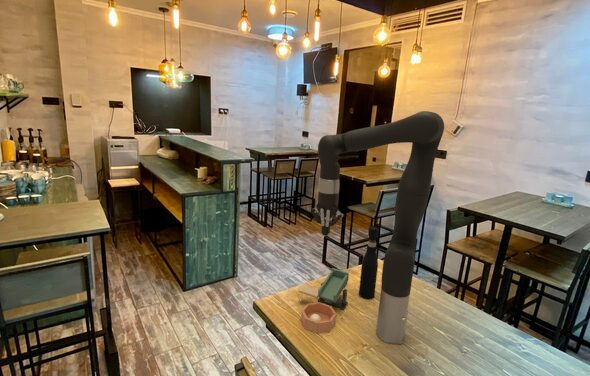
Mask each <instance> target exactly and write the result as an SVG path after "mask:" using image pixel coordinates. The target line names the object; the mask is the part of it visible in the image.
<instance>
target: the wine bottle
mask: <svg viewBox="0 0 590 376" xmlns="http://www.w3.org/2000/svg"><path fill="white" fill-rule="evenodd" d="M379 230H380V229H379V227H377V226H373V225H372V226H369V227H368V234H367V236H368V237H369V240H368V241H367V245H366V251H365V253H364V255H363V259H362V261H361V268H360V270H361V271H360V278H359V287H358V295H359V297H360V298H362V299H364V300H372V299H375V293H376V285H377V277H378V267H379V262H378V256H377V248H378V247H377V238H378V237H379Z"/></svg>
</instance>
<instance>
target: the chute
mask: <svg viewBox="0 0 590 376" xmlns="http://www.w3.org/2000/svg"><path fill="white" fill-rule="evenodd" d="M349 274H350V272H349V271H348V272H347V271H345V270H341V269H338V268H333V267H332V268H331V271H330V272H329V274H328V275H327V277H326V278H325V280H323V282H322V283H323V284H322V283H321V284H322V285H321V284H320V287H319V288H316V287H313V286H310V285H307V284H304V283H303V284H302V285H301V287H300V288H299V289H298V293H300V294H303V295H306V296H307V297H308V296H309V297H311V298H315V299H319V297H320V298H323V299H326V300H329V301H332V302H335V303H336V301H337V299H339V297H340V296H341V294H342V293H343V290H344V289H346V286H347V285H348V282H349Z"/></svg>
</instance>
